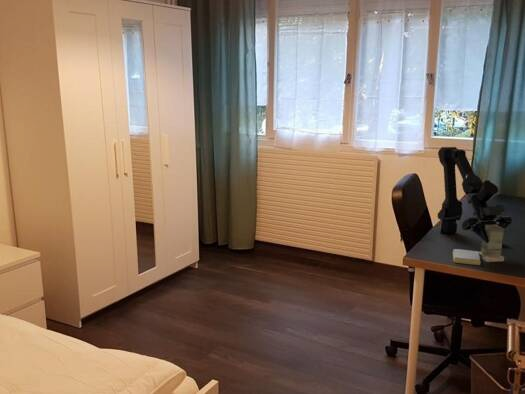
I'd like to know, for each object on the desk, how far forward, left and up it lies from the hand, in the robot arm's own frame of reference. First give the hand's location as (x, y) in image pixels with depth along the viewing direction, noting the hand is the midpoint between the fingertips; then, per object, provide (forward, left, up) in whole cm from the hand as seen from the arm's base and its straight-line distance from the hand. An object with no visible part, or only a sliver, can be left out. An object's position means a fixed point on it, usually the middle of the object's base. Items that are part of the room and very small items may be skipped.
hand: (494, 242), depth 189 cm
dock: (-10, -3, -7) cm, 12 cm away
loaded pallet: (-1, +1, -7) cm, 7 cm away
